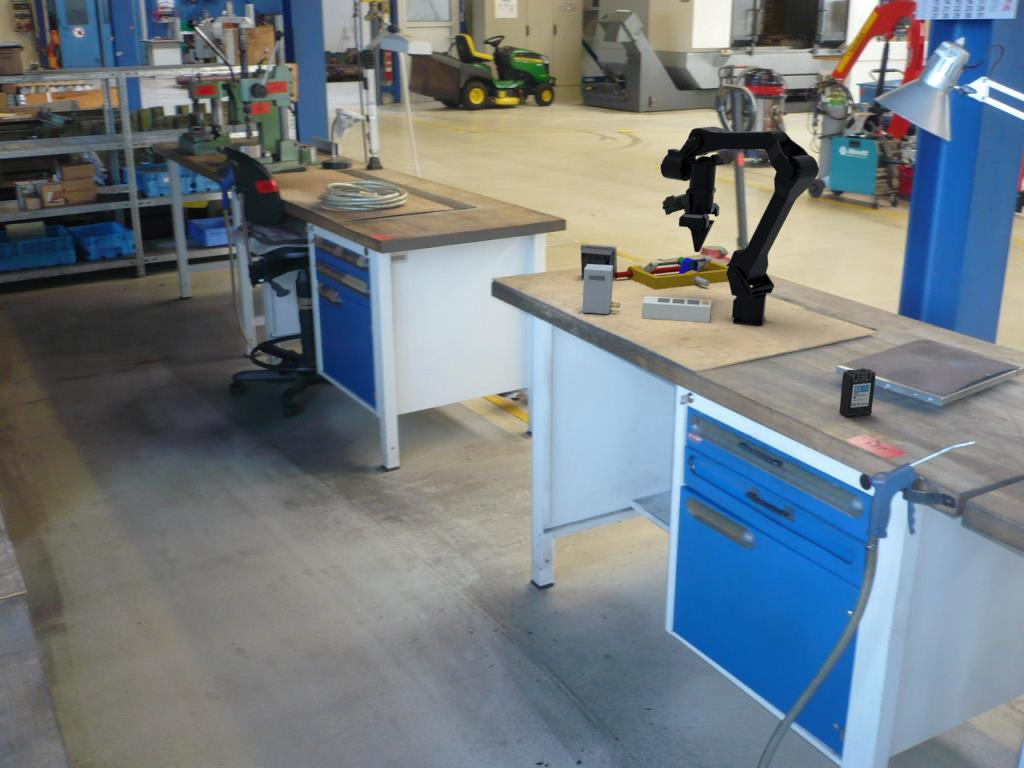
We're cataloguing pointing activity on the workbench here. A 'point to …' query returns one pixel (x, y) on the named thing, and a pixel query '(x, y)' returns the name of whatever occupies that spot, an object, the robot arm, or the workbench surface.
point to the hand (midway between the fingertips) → (697, 251)
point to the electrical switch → (598, 256)
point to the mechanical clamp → (688, 274)
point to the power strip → (676, 309)
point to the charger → (598, 289)
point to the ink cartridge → (857, 393)
